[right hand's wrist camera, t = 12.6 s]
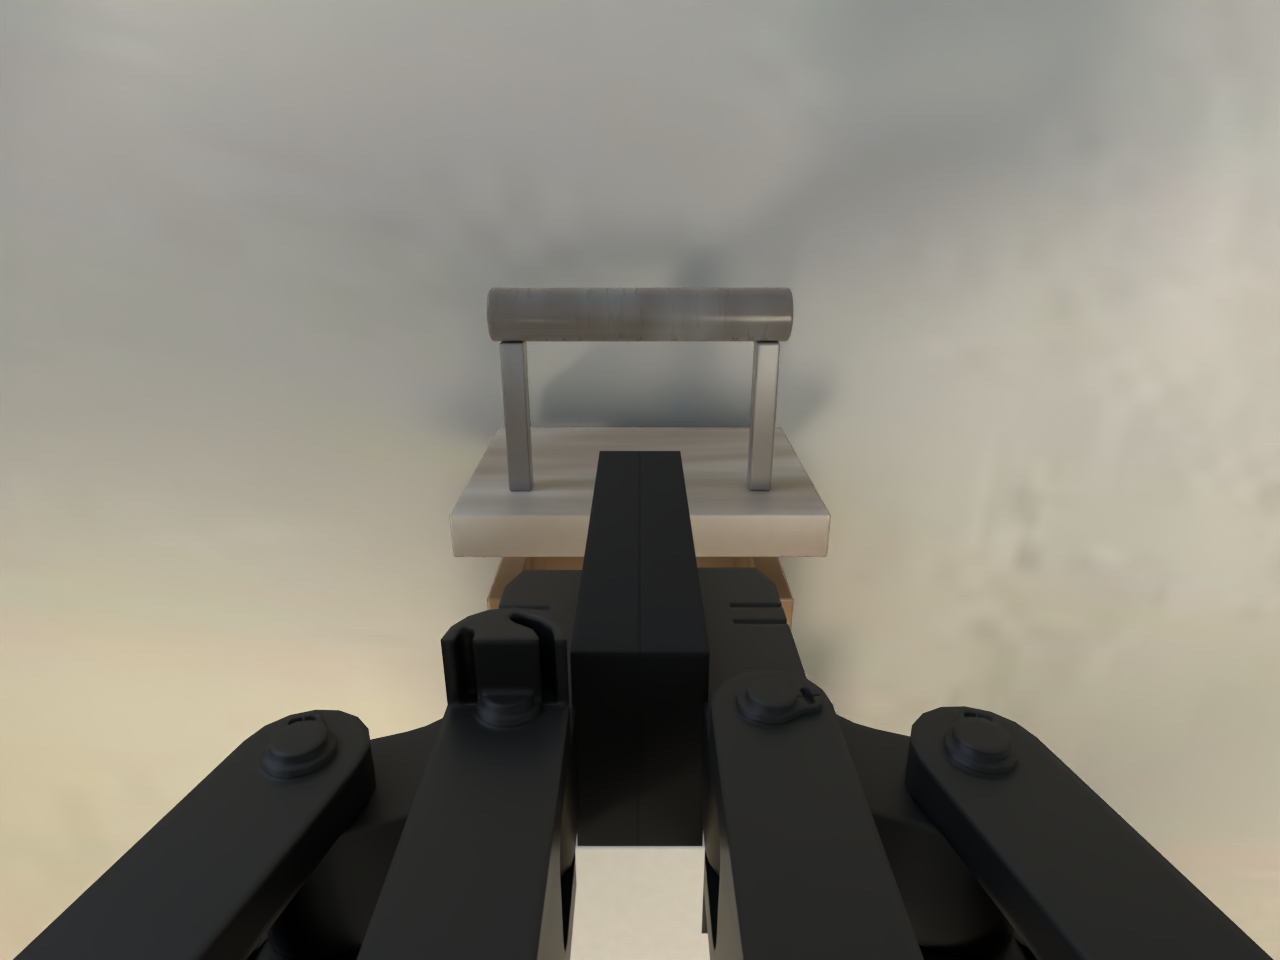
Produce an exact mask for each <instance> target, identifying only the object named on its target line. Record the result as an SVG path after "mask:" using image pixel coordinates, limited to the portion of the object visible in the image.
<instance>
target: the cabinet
mask: <svg viewBox="0 0 1280 960" xmlns="http://www.w3.org/2000/svg"><path fill="white" fill-rule="evenodd" d="M575 859H576V884H577V885H576V897H575V909H574V920H573V932H572V944H571V955H570V960H710V954H709V942H708V933H702V909H703V884H704V859H705V845H704V834H703V845H702V846H578V845H577V838H576V849H575Z"/></svg>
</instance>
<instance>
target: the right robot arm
mask: <svg viewBox="0 0 1280 960" xmlns="http://www.w3.org/2000/svg"><path fill="white" fill-rule="evenodd" d="M441 647H442V656H443V665H444V674H445V684H446V693H447V702H448V706H447V709H446V711H445V714H444V717H443V718H442V719H440V720H438V721H436V722H434V723H431V724H429V725H427V726H425V727H421V728H418V729H415V730H411V731H408V732H404V733H399V734H395V735H390V736H386V737H381V738H376V739H372V740H370V736H369V730H368V728H367V727H366V726H365V725H364V723H363V722H362V721H361V720H360V719H359V718H358V717H356V716H354V715H351V714H348V713H345V712H342V711H339V710H313V711H308V712H303V713H298V714H293V715H289V716H287V717H285V718H282V719H280V720H278V721H275V722H273V723H271V724H268V725H266V726H264V727H263V728H261V729H260V730H259V731H257V732H256V733H255V734H253V735H252V736H250V737H249V738H248V739H246V740H245V741H244V742H243V743H242V744H240V745H239V746H238V747H237V748H236V749H235V750H234V751H233V752H232V753H231V754H230V755H229V756H228V757H227V758H226V759H225V760H224V761H222V762H221V763H220V764H219V765H218V766H217V767H216V768H215V769H214V770H213V771H212V772H211V773H210V774H209V775H208V776H207V777H206V778H205V779H203V780H202V781H201V782H200V783H199V784H198V785H197V786H196V787H195V788H194V789H193V790H192V791H191V792H190V793H189V794H188V795H187V796H186V797H184V798H183V799H182V800H181V801H180V802H179V803H178V804H177V805H176V806H175V807H174V808H173V809H172V810H171V811H170V812H169V813H168V814H166V815H165V816H164V817H163V818H162V819H161V820H160V821H159V822H158V823H157V824H156V825H155V826H154V827H153V828H152V829H151V830H150V831H149V832H147V833H146V834H145V835H144V836H143V837H142V838H141V839H140V840H139V841H138V842H137V843H136V844H135V845H134V846H133V847H132V848H131V849H129V850H128V851H127V852H126V853H125V854H124V855H123V856H122V857H121V858H120V859H119V860H118V861H117V862H116V863H115V864H114V865H113V866H112V867H110V868H109V869H108V870H107V871H106V872H105V873H104V874H103V875H102V876H101V877H100V878H99V879H98V880H97V881H96V882H95V883H94V884H92V885H91V886H90V887H89V888H88V889H87V890H86V891H85V892H84V893H83V894H82V895H81V896H80V897H79V898H78V899H77V900H76V901H75V902H73V903H72V904H71V905H70V906H69V907H68V908H67V909H66V910H65V911H64V912H63V913H62V914H61V915H60V916H59V917H58V918H57V919H55V920H54V921H53V922H52V923H51V924H50V925H49V926H48V927H47V928H46V929H45V930H44V931H43V932H42V933H41V934H40V935H39V936H38V937H36V938H35V939H34V940H33V941H32V942H31V943H30V944H29V945H28V946H27V947H26V948H25V949H24V950H23V951H22V952H21V953H20V954H18V955H17V956H16V957H15V958H14V959H13V960H570V955H571V944H572V932H573V920H574V909H575V897H576V885H577V884H576V859H575V849H576V838H577V845H578V846H702V845H703V834H704V845H705V859H704V884H703V909H702V933H708V942H709V954H710V960H1273V959H1272V958H1271V957H1270V956H1269V955H1268V954H1267V953H1266V952H1265V951H1263V950H1262V949H1261V948H1260V947H1259V946H1258V945H1257V944H1256V943H1255V942H1254V941H1253V940H1252V939H1251V938H1250V937H1249V936H1248V935H1246V934H1245V933H1244V932H1243V931H1242V930H1241V929H1240V928H1239V927H1238V926H1237V925H1236V924H1235V923H1234V922H1233V921H1232V920H1230V919H1229V918H1228V917H1227V916H1226V915H1225V914H1224V913H1223V912H1222V911H1221V910H1220V909H1219V908H1218V907H1217V906H1216V905H1214V904H1213V903H1212V902H1211V901H1210V900H1209V899H1208V898H1207V897H1206V896H1205V895H1204V894H1203V893H1202V892H1201V891H1200V890H1199V889H1197V888H1196V887H1195V886H1194V885H1193V884H1192V883H1191V882H1190V881H1189V880H1188V879H1187V878H1186V877H1185V876H1184V875H1183V874H1181V873H1180V872H1179V871H1178V870H1177V869H1176V868H1175V867H1174V866H1173V865H1172V864H1171V863H1170V862H1169V861H1168V860H1167V859H1166V858H1164V857H1163V856H1162V855H1161V854H1160V853H1159V852H1158V851H1157V850H1156V849H1155V848H1154V847H1153V846H1152V845H1151V844H1150V843H1148V842H1147V841H1146V840H1145V839H1144V838H1143V837H1142V836H1141V835H1140V834H1139V833H1138V832H1137V831H1136V830H1135V829H1134V828H1132V827H1131V826H1130V825H1129V824H1128V823H1127V822H1126V821H1125V820H1124V819H1123V818H1122V817H1121V816H1120V815H1119V814H1118V813H1117V812H1115V811H1114V810H1113V809H1112V808H1111V807H1110V806H1109V805H1108V804H1107V803H1106V802H1105V801H1104V800H1103V799H1102V798H1101V797H1099V796H1098V795H1097V794H1096V793H1095V792H1094V791H1093V790H1092V789H1091V788H1090V787H1089V786H1088V785H1087V784H1086V783H1085V782H1083V781H1082V780H1081V779H1080V778H1079V777H1078V776H1077V775H1076V774H1075V773H1074V772H1073V771H1072V770H1071V769H1070V768H1069V767H1068V766H1066V765H1065V764H1064V763H1063V762H1062V761H1061V760H1060V759H1059V758H1058V757H1057V756H1056V755H1055V754H1054V753H1053V752H1052V751H1050V750H1049V749H1048V748H1047V747H1046V746H1045V745H1044V744H1043V743H1042V742H1041V741H1040V740H1039V739H1038V738H1037V737H1035V736H1034V735H1032V734H1031V733H1030V732H1028V731H1027V730H1025V729H1024V728H1023V727H1021V726H1020V725H1019V724H1017V723H1016V722H1013V721H1011V720H1009V719H1006V718H1004V717H1002V716H999V715H997V714H995V713H992V712H989V711H984V710H980V709H975V708H970V707H965V706H964V707H940V708H937V709H934V710H932V711H929V712H926V713H923V714H922V715H921V716H920V717H919V718H918V719H917V721H916V722H915V723H914V724H913V725H912V730H911V736H910V737H909V736H905V735H900V734H896V733H891V732H886V731H882V730H877V729H873V728H870V727H866V726H863V725H859V724H856V723H853V722H851V721H849V720H847V719H845V718H843V717H841V716H838V715H837V714H836V713H835V710H834V708H833V705H832V703H831V701H830V700H829V698H828V697H827V696H826V694H825V693H824V691H823V690H822V689H821V688H819V687H818V686H816V685H815V684H814V683H812V682H811V681H809V680H808V679H806V676H805V673H804V670H803V667H802V664H801V661H800V658H799V655H798V652H797V649H796V646H795V643H794V640H793V636H792V633H791V630H790V627H789V624H787V618H786V615H785V612H784V609H783V607H782V603H781V600H780V597H779V594H778V591H777V588H776V585H775V584H774V583H773V582H772V581H771V580H770V579H769V578H768V577H766V576H765V575H764V574H763V573H762V572H761V571H760V570H758V569H757V568H756V567H697V561H696V554H695V548H694V541H693V534H692V527H691V520H690V513H689V507H688V500H687V493H686V486H685V479H684V472H683V466H682V459H681V452H680V451H600V452H599V459H598V466H597V472H596V479H595V486H594V493H593V500H592V507H591V513H590V520H589V527H588V534H587V541H586V548H585V554H584V561H583V568H582V570H523V571H522V572H521V573H520V574H519V575H518V576H517V577H515V578H514V579H513V580H512V581H511V582H510V583H509V584H507V585H506V586H505V588H504V591H503V594H502V597H501V600H500V603H499V609H491V610H487V611H484V612H481V613H477V614H474V615H471V616H468V617H466V618H465V619H463V620H461V621H460V622H458V623H456V624H455V625H453V626H452V627H450V629H449V630H448V631H447V633H446V634H445V635H444V636H443V638H442V639H441Z"/></svg>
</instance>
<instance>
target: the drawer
mask: <svg viewBox="0 0 1280 960" xmlns="http://www.w3.org/2000/svg"><path fill="white" fill-rule="evenodd" d="M487 323H488V330H489V334H490V337H491V339H492V341H502V342H501V343H500V358H501V373H502V388H503V403H504V418H505V428H499V429H498V430H497V432H496V434H495V436H494V438H493V439H492V441H491V443H490V445H489V446H488V448H487V450H486V452H485V454H484V455H483V457H482V459H481V461H480V463H479V464H478V466H477V468H476V470H475V471H474V473H473V475H472V477H471V479H470V480H469V482H468V484H467V486H466V487H465V489H464V491H463V493H462V495H461V496H460V498H459V500H458V502H457V504H456V505H455V507H454V509H453V511H452V512H451V514H450V525H451V535H452V546H453V555H454V557H502V560H501V562H500V565H499V568H498V571H497V574H496V576H495V579H494V582H493V585H492V587H491V590H490V593H489V596H488V598H487V606H488V610H491V609H499V603H500V600H501V597H502V594H503V591H504V588H505V586H506V585H507V584H509V583H510V582H511V581H512V580H513V579H514V578H515V577H517V576H518V575H519V574H520V573H521V572H522V571H523V570H582V568H583V561H584V554H585V548H586V541H587V534H588V527H589V520H590V513H591V507H592V500H593V493H594V486H595V479H596V472H597V466H598V459H599V452H600V451H680V452H681V459H682V466H683V472H684V479H685V486H686V493H687V500H688V507H689V513H690V520H691V527H692V534H693V541H694V548H695V554H696V561H697V567H756V568H757V569H758V570H760V571H761V572H762V573H763V574H764V575H765V576H766V577H768V578H769V579H770V580H771V581H772V582H773V583H774V584H775V585H776V588H777V591H778V594H779V597H780V600H781V603H782V607H783V609H784V612H785V615H786V618H787V624H789V627H790V630H791V624H792V611H793V597H792V594H791V591H790V589H789V586H788V583H787V580H786V578H785V575H784V572H783V569H782V567H781V564H780V561H779V558H778V557H826V556H827V549H828V538H829V528H830V517H831V516H830V514H829V512H828V510H827V508H826V506H825V505H824V503H823V501H822V499H821V498H820V496H819V494H818V492H817V490H816V489H815V487H814V485H813V483H812V482H811V480H810V478H809V476H808V474H807V473H806V471H805V469H804V467H803V466H802V464H801V462H800V460H799V458H798V457H797V455H796V453H795V451H794V450H793V448H792V446H791V444H790V442H789V441H788V439H787V437H786V435H785V434H784V432H783V430H782V428H780V427H775V418H776V403H777V388H778V372H779V357H780V343H779V342H778V341H787V340H788V339H789V337H790V334H791V330H792V323H793V298H792V293H791V290H790V289H789V288H491V289H490V290H489V293H488V298H487ZM526 341H754V354H753V373H752V392H751V411H750V427H600V428H531V424H530V406H529V387H528V369H527V350H526Z"/></svg>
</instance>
